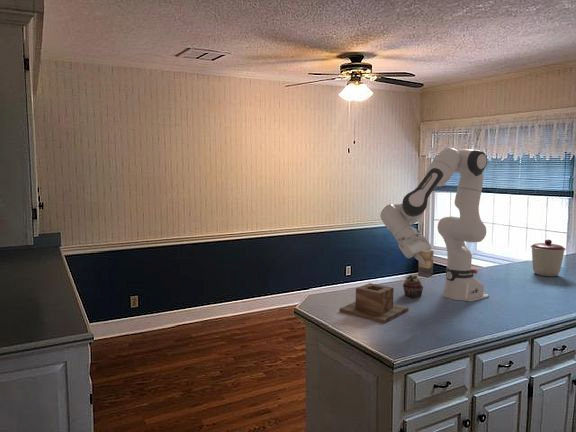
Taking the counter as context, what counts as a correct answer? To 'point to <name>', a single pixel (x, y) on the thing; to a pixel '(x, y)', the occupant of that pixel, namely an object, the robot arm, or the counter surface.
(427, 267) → the rail end
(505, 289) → the counter surface
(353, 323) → the counter surface
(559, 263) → the canister
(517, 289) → the counter surface
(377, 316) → the post block
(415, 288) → the cupcake
